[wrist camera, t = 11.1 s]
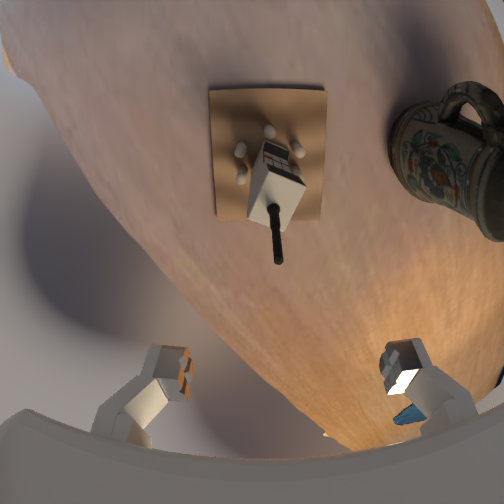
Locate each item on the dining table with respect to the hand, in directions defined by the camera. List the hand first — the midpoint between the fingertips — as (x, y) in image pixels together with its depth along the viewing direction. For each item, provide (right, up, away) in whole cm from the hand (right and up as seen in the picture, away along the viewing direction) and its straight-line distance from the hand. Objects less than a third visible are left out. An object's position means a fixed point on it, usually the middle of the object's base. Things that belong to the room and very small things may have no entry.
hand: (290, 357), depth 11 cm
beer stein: (+26, +22, +26) cm, 43 cm away
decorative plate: (+71, -61, +77) cm, 121 cm away
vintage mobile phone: (+1, +17, +28) cm, 33 cm away
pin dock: (+1, +18, +29) cm, 34 cm away
